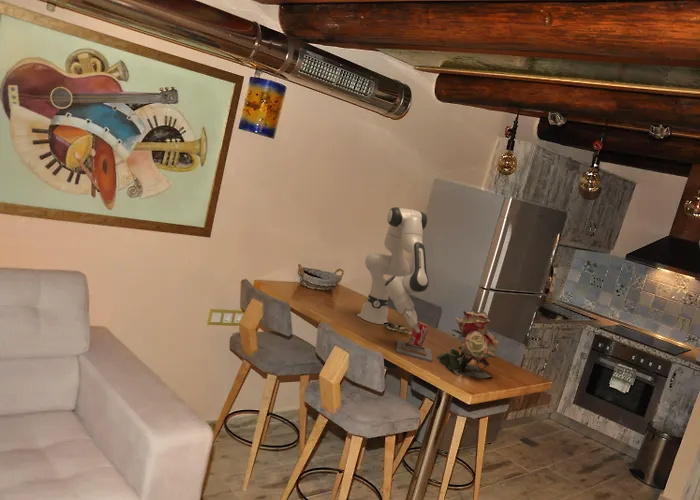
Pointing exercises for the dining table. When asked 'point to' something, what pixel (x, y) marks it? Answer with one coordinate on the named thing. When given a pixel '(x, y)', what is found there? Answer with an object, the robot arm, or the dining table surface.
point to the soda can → (418, 335)
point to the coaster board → (414, 351)
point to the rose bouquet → (471, 346)
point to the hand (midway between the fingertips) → (419, 330)
